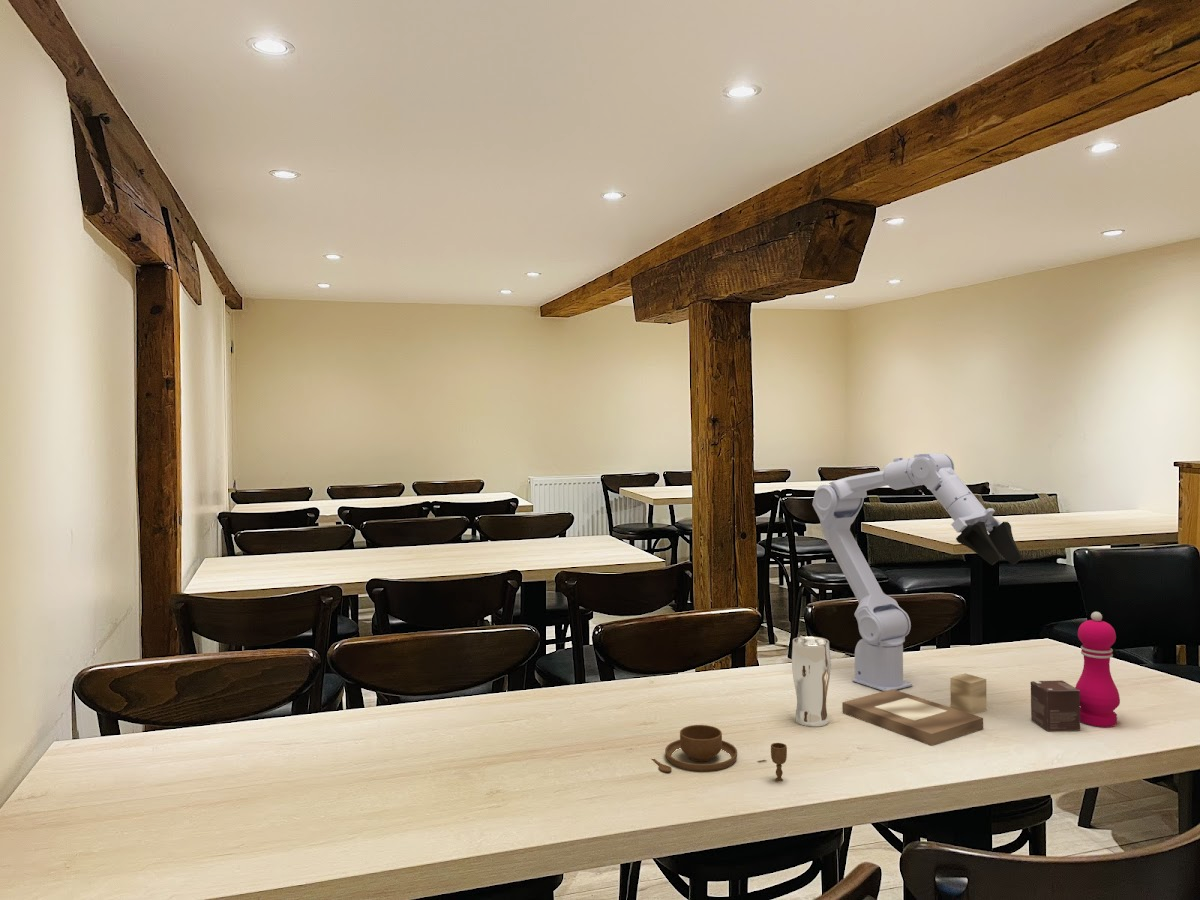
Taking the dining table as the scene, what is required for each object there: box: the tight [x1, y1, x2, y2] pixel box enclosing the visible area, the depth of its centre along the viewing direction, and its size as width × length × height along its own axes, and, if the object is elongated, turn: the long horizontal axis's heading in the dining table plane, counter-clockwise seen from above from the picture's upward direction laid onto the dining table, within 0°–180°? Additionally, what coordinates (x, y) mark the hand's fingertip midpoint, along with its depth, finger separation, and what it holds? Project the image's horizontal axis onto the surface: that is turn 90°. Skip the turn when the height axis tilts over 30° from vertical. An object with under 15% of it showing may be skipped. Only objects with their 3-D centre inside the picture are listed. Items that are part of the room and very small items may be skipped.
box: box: [1030, 680, 1081, 732], centre depth 155 cm, size 6×6×7 cm
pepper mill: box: [1074, 611, 1121, 728], centre depth 156 cm, size 7×7×20 cm
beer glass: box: [791, 635, 832, 728], centre depth 159 cm, size 7×7×15 cm
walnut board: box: [841, 689, 984, 746], centre depth 158 cm, size 20×14×2 cm
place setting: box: [651, 724, 788, 782], centre depth 139 cm, size 18×20×6 cm
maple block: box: [949, 673, 987, 715], centre depth 164 cm, size 4×4×6 cm
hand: (1007, 561), depth 155 cm, fingers open, 7 cm apart
